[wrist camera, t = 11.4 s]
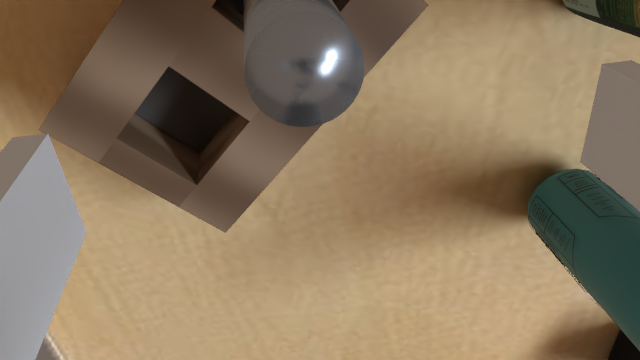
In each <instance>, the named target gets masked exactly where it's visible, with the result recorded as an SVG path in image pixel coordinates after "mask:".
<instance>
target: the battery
mask: <svg viewBox="0 0 640 360" xmlns="http://www.w3.org/2000/svg"><path fill="white" fill-rule="evenodd" d="M609 360H640V351H639V350H638V349H637V347H636V346H635V345H634V344H633V343H632V342H631V340H630V339H629V338H628V337H627V336H626V335H625V334H624V332H623V331H622V330H621V331H620V334H619V336H618V339H617V341H616V343H615V346H614V348H613V351H612V353H611V355H610V358H609Z"/></svg>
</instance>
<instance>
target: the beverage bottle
mask: <svg viewBox="0 0 640 360" xmlns="http://www.w3.org/2000/svg"><path fill="white" fill-rule="evenodd" d="M527 214H528V220H529V221H530V223H531V225H532V227H533V228H534V229H535V231H536V234H537V235H538V236H539V237H540V236H541V237H540V238H541V240H542V241H543V242H544V243H545V244H546V245H545V246H546V247H547V248H549V249H550V250H551V249H552V250H553V251H552V250H551V252H552V253H553V254H554V255H555V257H557V256H558V257H559V258H558V257H557V259H558V260H559V261H560V262H561V264H563V263H564V264H563V265H564V266H566V267H567V268H568V269H569V270H570V271H568V273H569V274H570V272H571V274H570V275H572V274H573V275H574V277H576V279H577V280H578V282H579V283H578V285H579V284H580V283H581V284H582V286H583V287H584V288H585V289H586V290H587V291H586V292H588V293H589V294H590V295H591V296H592V297H593V298H594V300H595V301H596V302H597V303H598V304H599V305H600V306H601V308H603V309H604V310H605V311H606V313H607V314H608V315H609V316H610V317H611V318H612V320H613V321H614V322H615V323H616V324H617V325H618V327H619V328H620V329H621V330H622V331H623V332H624V334H625V335H626V336H627V337H628V338H629V339H630V340H631V342H632V343H633V344H634V345H635V346H636V347H637V349H638V350H639V351H640V211H638V210H637V209H636V208H635V207H634V206H633V205H631V204H630V203H629V202H628V201H626V200H625V199H624V198H623V197H622V196H620V195H619V194H618V193H617V192H616V191H615V190H614V189H612V188H611V187H610V186H609V185H607V184H606V183H604V182H603V181H602V180H601V179H600V178H598V177H597V176H596V174H595V175H594V174H593V173H591V172H590V171H589V172H588V171H585V170H581V169H569V170H564V171H561V172H558V173H556V174H553V175H552V176H550V177H548V178H547V179H546V180H544V181H543V182H542V183H541V184H540V185H539V186H538V187H537V188H536V189H535V191H534V192H533V193H532V195H531V197H530V200H529V202H528V207H527ZM530 227H531V226H530ZM533 228H531V229H533ZM556 255H557V256H556ZM562 262H563V263H562ZM565 269H566V268H565ZM573 275H572V277H573ZM574 280H575V278H574ZM579 286H580V285H579ZM580 287H581V286H580ZM583 287H582V289H583ZM583 290H584V289H583ZM584 292H585V291H584ZM590 299H591V298H590ZM591 300H592V299H591ZM598 304H597V305H598Z"/></svg>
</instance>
